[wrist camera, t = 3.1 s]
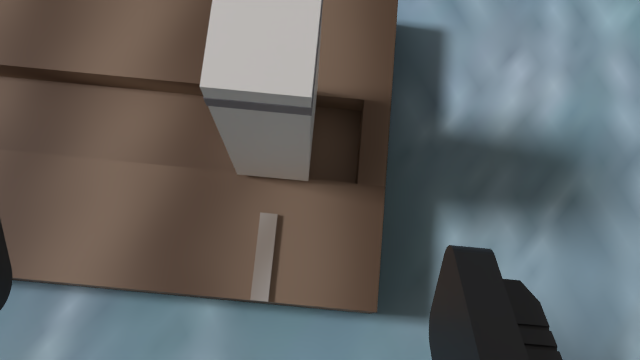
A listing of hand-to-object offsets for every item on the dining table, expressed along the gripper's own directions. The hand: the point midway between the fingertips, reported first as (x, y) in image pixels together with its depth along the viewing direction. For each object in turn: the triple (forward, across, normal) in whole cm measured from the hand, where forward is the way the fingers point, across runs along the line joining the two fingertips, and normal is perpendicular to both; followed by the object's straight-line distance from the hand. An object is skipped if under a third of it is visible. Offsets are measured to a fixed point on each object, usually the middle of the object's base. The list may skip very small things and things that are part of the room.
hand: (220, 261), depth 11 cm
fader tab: (+12, 0, +4) cm, 12 cm away
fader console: (+13, +8, +4) cm, 16 cm away
